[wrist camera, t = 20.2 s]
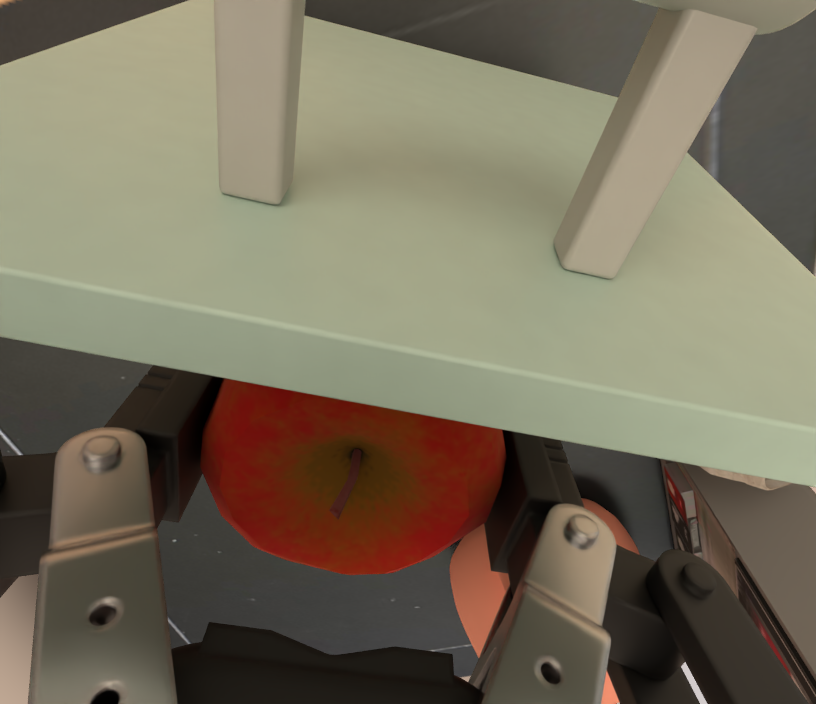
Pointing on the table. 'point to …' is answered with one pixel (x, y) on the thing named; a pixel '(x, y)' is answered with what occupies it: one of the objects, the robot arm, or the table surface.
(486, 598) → the teapot
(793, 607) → the cassette tape recorder
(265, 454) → the apple
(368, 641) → the table surface
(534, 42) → the table surface
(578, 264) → the lid
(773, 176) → the table surface
